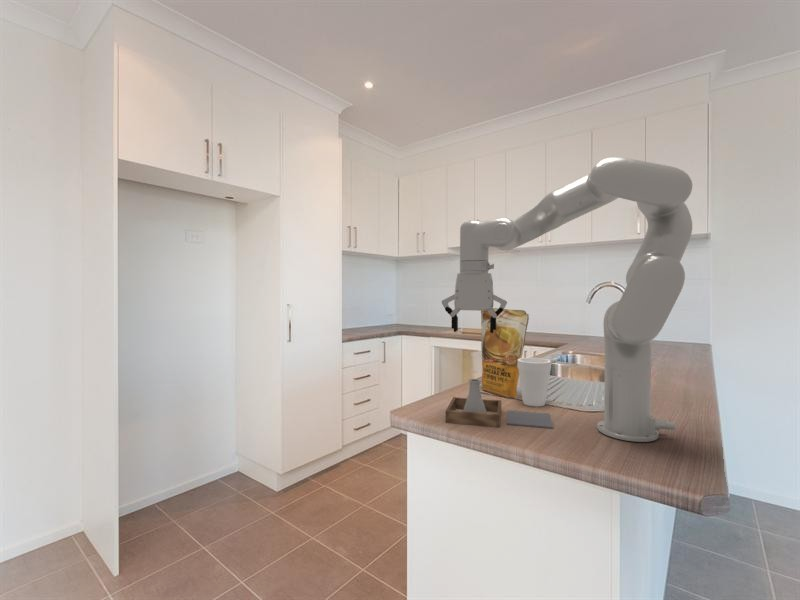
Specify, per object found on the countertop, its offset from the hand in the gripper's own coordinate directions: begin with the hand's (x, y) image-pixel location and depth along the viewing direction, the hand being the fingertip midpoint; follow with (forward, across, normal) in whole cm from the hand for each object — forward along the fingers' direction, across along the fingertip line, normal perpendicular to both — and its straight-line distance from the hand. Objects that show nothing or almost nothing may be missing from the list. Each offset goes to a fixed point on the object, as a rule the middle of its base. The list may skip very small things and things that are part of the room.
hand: (473, 331), depth 106 cm
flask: (+23, 0, 0) cm, 23 cm away
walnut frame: (+23, 0, 0) cm, 23 cm away
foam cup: (+23, -16, -17) cm, 33 cm away
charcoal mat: (+23, -14, -1) cm, 27 cm away
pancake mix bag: (+23, -6, -27) cm, 36 cm away
